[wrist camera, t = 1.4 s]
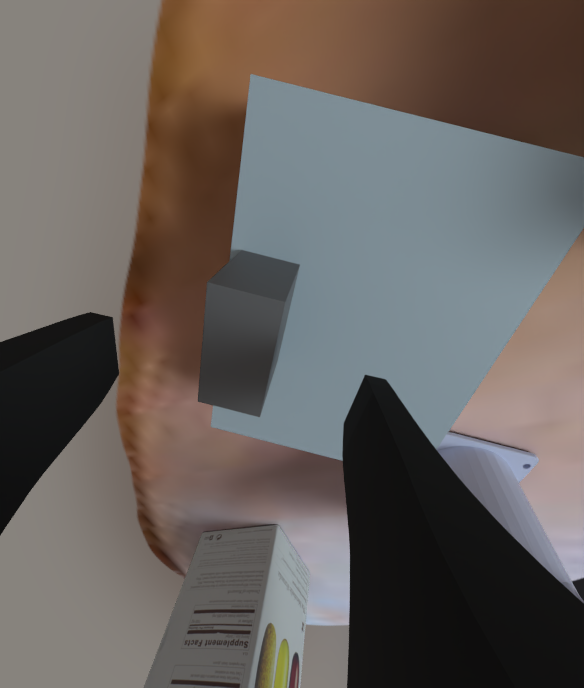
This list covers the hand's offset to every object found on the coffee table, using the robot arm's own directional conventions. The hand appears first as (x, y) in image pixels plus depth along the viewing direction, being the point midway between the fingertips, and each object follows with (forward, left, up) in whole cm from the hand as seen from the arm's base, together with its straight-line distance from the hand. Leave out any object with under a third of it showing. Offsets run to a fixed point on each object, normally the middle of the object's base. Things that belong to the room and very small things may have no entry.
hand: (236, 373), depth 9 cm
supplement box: (-32, -3, -11) cm, 34 cm away
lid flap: (-1, -4, -7) cm, 8 cm away
